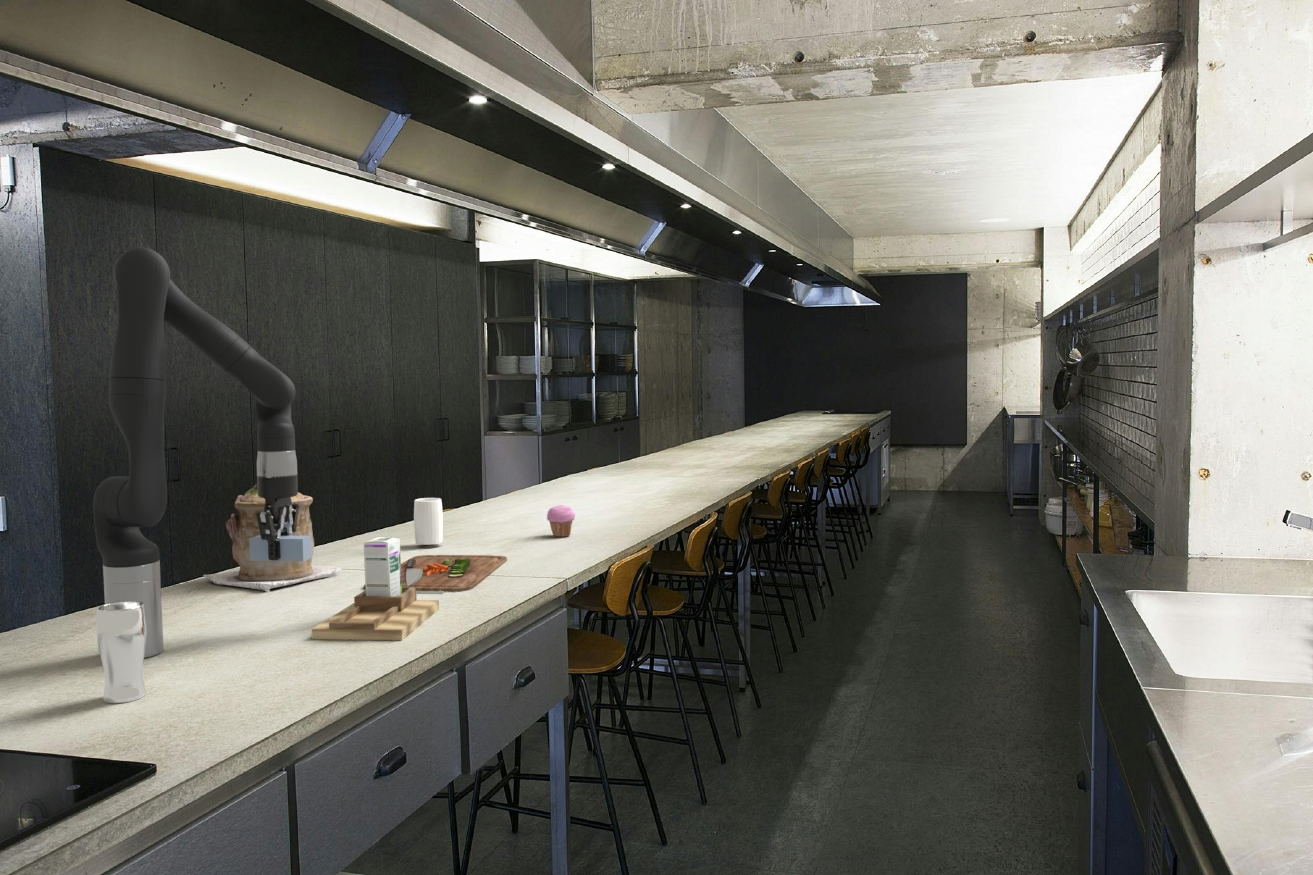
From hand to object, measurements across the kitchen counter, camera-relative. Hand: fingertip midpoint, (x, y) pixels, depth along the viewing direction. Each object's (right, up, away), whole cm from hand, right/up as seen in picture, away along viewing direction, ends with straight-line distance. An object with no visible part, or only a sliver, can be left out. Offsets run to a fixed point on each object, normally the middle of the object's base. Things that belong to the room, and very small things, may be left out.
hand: (279, 557), depth 191 cm
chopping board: (+20, -12, +55) cm, 60 cm away
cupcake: (+46, -7, +109) cm, 118 cm away
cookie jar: (-22, -12, +50) cm, 56 cm away
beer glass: (-10, -18, -38) cm, 43 cm away
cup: (+8, -9, +94) cm, 94 cm away
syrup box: (+17, -12, +13) cm, 25 cm away
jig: (+18, -14, +6) cm, 24 cm away
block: (0, 0, 0) cm, 1 cm away
